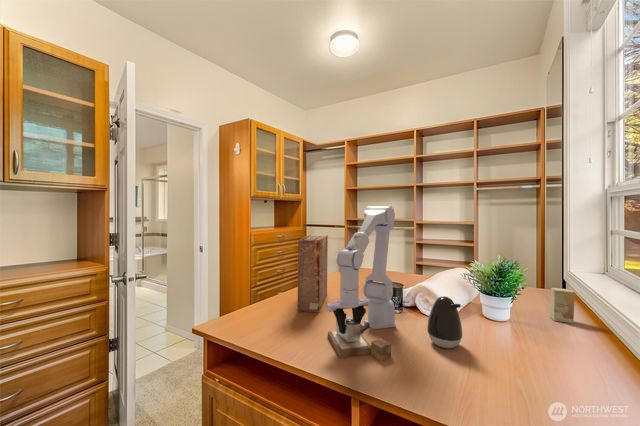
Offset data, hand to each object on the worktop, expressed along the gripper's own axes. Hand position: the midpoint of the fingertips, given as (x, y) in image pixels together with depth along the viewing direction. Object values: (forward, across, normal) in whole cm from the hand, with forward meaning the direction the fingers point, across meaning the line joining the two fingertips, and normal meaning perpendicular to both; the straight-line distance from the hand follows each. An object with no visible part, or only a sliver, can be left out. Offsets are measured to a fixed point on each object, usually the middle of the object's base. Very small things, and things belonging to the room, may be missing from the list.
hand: (348, 331), depth 85 cm
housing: (+2, 0, -1) cm, 2 cm away
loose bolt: (+4, -11, -9) cm, 15 cm away
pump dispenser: (+5, -29, +11) cm, 31 cm away
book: (+5, -5, -42) cm, 42 cm away
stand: (+4, 0, 0) cm, 4 cm away
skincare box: (+5, -88, +13) cm, 89 cm away
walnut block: (+4, -6, +9) cm, 12 cm away
